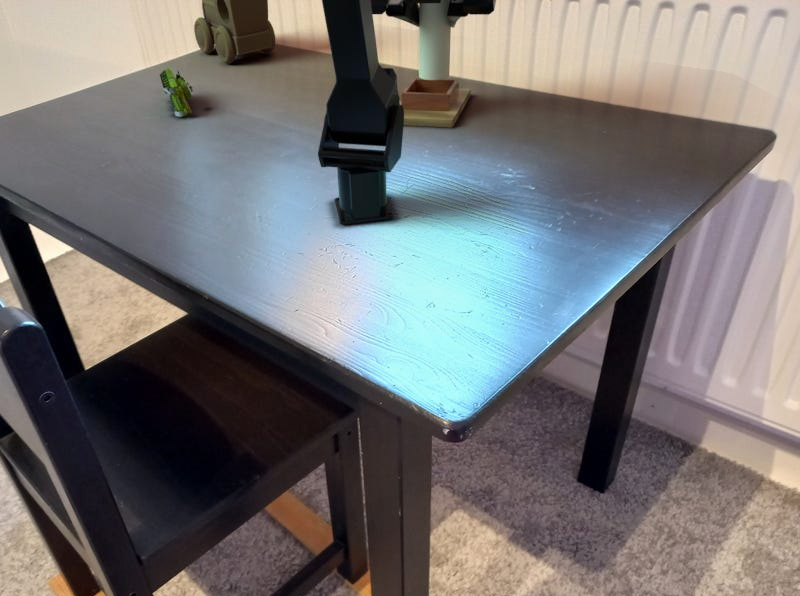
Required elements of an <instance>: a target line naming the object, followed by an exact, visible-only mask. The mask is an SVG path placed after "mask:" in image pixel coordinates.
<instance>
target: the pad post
mask: <svg viewBox="0 0 800 596" xmlns="http://www.w3.org/2000/svg"><path fill="white" fill-rule="evenodd" d="M449 2H450V0H441V2H440V3H418V5H419V27H418V30H419V31H418V35H419V36H418V78H421V79H424V80H441V79H448V77H450V69H451V68H450V67H451V38H452V37H451V35H452V27H451V26H450V25H449V21H448V18H447V13H448V8H449Z"/></svg>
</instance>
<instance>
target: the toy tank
mask: <svg viewBox="0 0 800 596" xmlns="http://www.w3.org/2000/svg"><path fill="white" fill-rule="evenodd" d="M191 69H192V68H191ZM159 77H160V81H161V84H162V88H163V91H164V94H167V95H169V96H168V99H169V102H170V104H171V109H172V112H173V114H174V116H175V117H179V118H182V117H187V116H189V114H192V109H191V107H190V104H189V103H188V101H189V100H191V98H192V93H193V91H194V90H193V89H194V86H191V85H190V84H189V82H188V81H186V79H185V78H184V77H183V76H182V75H181V74H180V71H179V70H177V73H176V74H175V75H174V72H173V71H172V70H171V69H170V68H169V67H167V68H165V69H164V70H162V71H161V73H160V74H159Z"/></svg>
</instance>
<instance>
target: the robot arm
mask: <svg viewBox="0 0 800 596" xmlns="http://www.w3.org/2000/svg"><path fill="white" fill-rule="evenodd" d="M440 2H441V0H321V3H322V4H321V5H322V9H323V14H324V15H323V16H324V21H325V25H326V31H327V37H328V42H329V47H330V52H331V53H330V54H331V58H332V64H333V69H334V74H335V84H334V86H333V88H332V91H331V93H330V95H329V97H328V100H327V102H326V105H325V106H326V112H325V115H324V120H323V125H322V130H321V131H322V132H321V135H320V141H319V146H318V151H317V158H318V161H319V165H320V167H321V168H336V171H337V187H338V197H335V198H334V207H335V211H336V214H337V219H338V223H339V225H351V224H359V223H361V224H362V223H368V222H377V221H384V220H385V221H386V220H393V219H394V216H395V215H394V211H393V208H392V205H391V203H390V201H389V197H388V195H387V192H388V191H387V173H391V172H392V170H393V169H394V168H395V166H396V165H397V163H398V162H399V161H400V159H401V158H402V147H403V139H404V138H403V137H404V126H405V125H404V109H403V106H402V105H400V103H399V101H400V100H401V96H400V94H399V89H398V75H397V73H396V71H395V70H394V68H393V67H382V66H381V64H380V61H379V54H378V45H377V39H376V31H375V24H374V16H373V15H383V14H384V13H385V14H386V16H387V17H388V18H389V17H390V18H395V19H397V20H400V21H404V22H406V23H408V24H409V25H413V26H415V27H418V28H419V3H440ZM496 3H497V0H450V2H449V8H448V13H447V18H448V21H449V25H450V26H451V29H453V28H455V27H456V24H457V22H458V21H459V20H460V19H461V18H466V17H468V16H469V15H472V16H473V15H485V16H486V15H487V16H489V15H490V14H492V13H493V12H495V9H496V8H495V7H496ZM340 144H341V145H357V146H373V147H385V148H384V150H382V149H371V148H370V149H367V148H354V147H340Z"/></svg>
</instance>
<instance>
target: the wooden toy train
mask: <svg viewBox="0 0 800 596" xmlns="http://www.w3.org/2000/svg"><path fill="white" fill-rule="evenodd" d="M201 8H202V15H203V17H201V16H200V17H198V18H197V19H196V20H195V22H194V25H193V31H194V37H195V40H196V44H197V45H198V48H199V49H200V51H201V52H203V53H204V54H207V55H210V54H211V53H212V52H213V51H214V48H215V50H216V53H217V55H218V57H219V59H220V60H221V61H222V62H223V63H224V64H226V65H231V64H232V63H234V61H235V58H236V55H237V56H241V55H246V54H250V53H253V52H259V51H260V52H261V53H262V54H264V55H271V54H272V53H273V52H274V51H275V47H276V41H277V40H276V33H275V30H274V27H273V25H272V22H270V20H269V1H268V0H201Z"/></svg>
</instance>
